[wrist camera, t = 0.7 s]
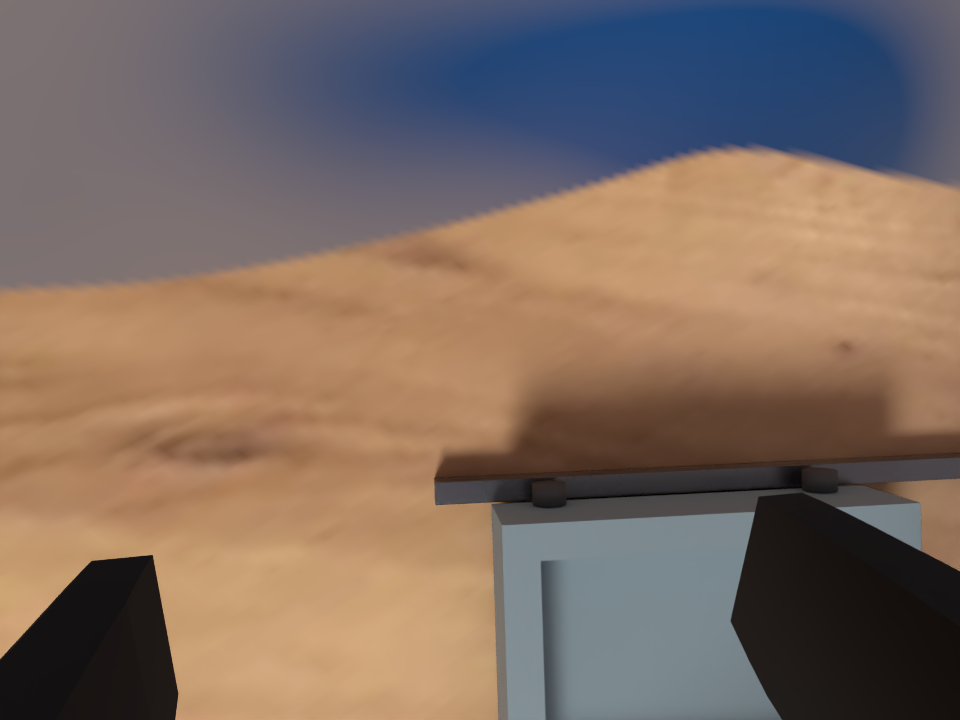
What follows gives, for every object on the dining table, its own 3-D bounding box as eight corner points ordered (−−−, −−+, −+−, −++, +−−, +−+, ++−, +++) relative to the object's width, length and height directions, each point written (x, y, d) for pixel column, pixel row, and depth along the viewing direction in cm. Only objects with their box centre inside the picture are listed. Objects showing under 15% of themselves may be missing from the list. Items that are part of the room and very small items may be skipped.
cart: (869, 794, 28) (928, 852, 25) (502, 827, 27) (513, 892, 23) (861, 465, 28) (919, 480, 24) (490, 483, 26) (501, 501, 23)
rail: (1196, 745, 30) (1263, 779, 28) (445, 810, 28) (448, 854, 25) (1191, 441, 30) (1258, 449, 28) (434, 478, 27) (435, 490, 25)
